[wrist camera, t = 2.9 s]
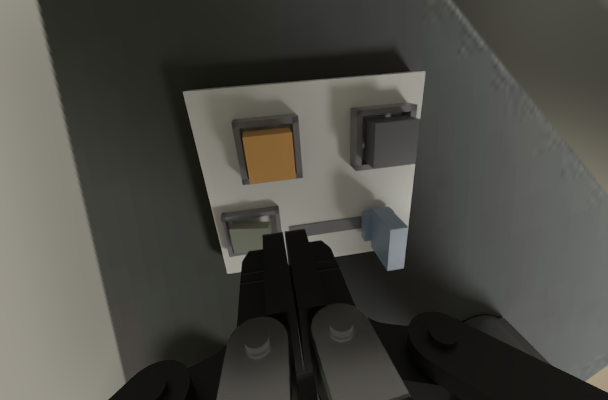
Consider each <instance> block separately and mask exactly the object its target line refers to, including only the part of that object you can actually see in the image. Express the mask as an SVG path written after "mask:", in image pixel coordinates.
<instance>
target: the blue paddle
mask: <svg viewBox="0 0 608 400" xmlns="http://www.w3.org/2000/svg"><path fill="white" fill-rule="evenodd" d="M407 236H408V226H407V225H406V224H405V223H404V222H403V221H402V220H401V219H400V218H399V217H398V216H397V215H396V214H395V213H394V211H393V210H392V209H391V208H390V207H382V208H374V209H372V210H368V211H362V228H361V237H362V238H363V240H364V241H371V247H372V248H373V250H374V252H375V253H376V255H377V256H378V258H379V259H380V261H381V262H382V264H383V265H384V267H385V268H386V270H387V271H391V270H397V269H403V268H404V263H405V254H406V245H407Z"/></svg>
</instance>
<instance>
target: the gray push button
mask: <svg viewBox="0 0 608 400" xmlns="http://www.w3.org/2000/svg"><path fill="white" fill-rule="evenodd" d="M419 126H420V119H418V118H415V117H411V116H408V115H402V116H392V117H382V118H373V119H365V151H364V161H365V162H366V163H367V164H369V165H370V166H371V167H372V168H373V169H376V168H384V167H392V166H400V165H408V164H415V162H416V153H417V144H418V135H419Z"/></svg>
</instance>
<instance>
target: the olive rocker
mask: <svg viewBox="0 0 608 400" xmlns="http://www.w3.org/2000/svg"><path fill="white" fill-rule="evenodd" d="M229 232H230V236H231V240H232V245H233V249H234V253H248V252H249V251H254V250H260V249H263V239H262V235H264V234H271V233H272V229H271V223H270V221H269V222H240V223H232V225H231V227H230V229H229Z"/></svg>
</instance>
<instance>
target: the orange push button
mask: <svg viewBox="0 0 608 400" xmlns="http://www.w3.org/2000/svg"><path fill="white" fill-rule="evenodd" d="M242 139H243V145H244V151H245V156H246V162H247V168H248V174H249V180H250V184H254V183H262V182H271V181H279V180H287V179H295V178H296V172H295V161H294V149H293V138H292V132H291V130H290V128H289V127H285V128H275V129H265V130H255V131H246V132H243V137H242Z"/></svg>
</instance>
